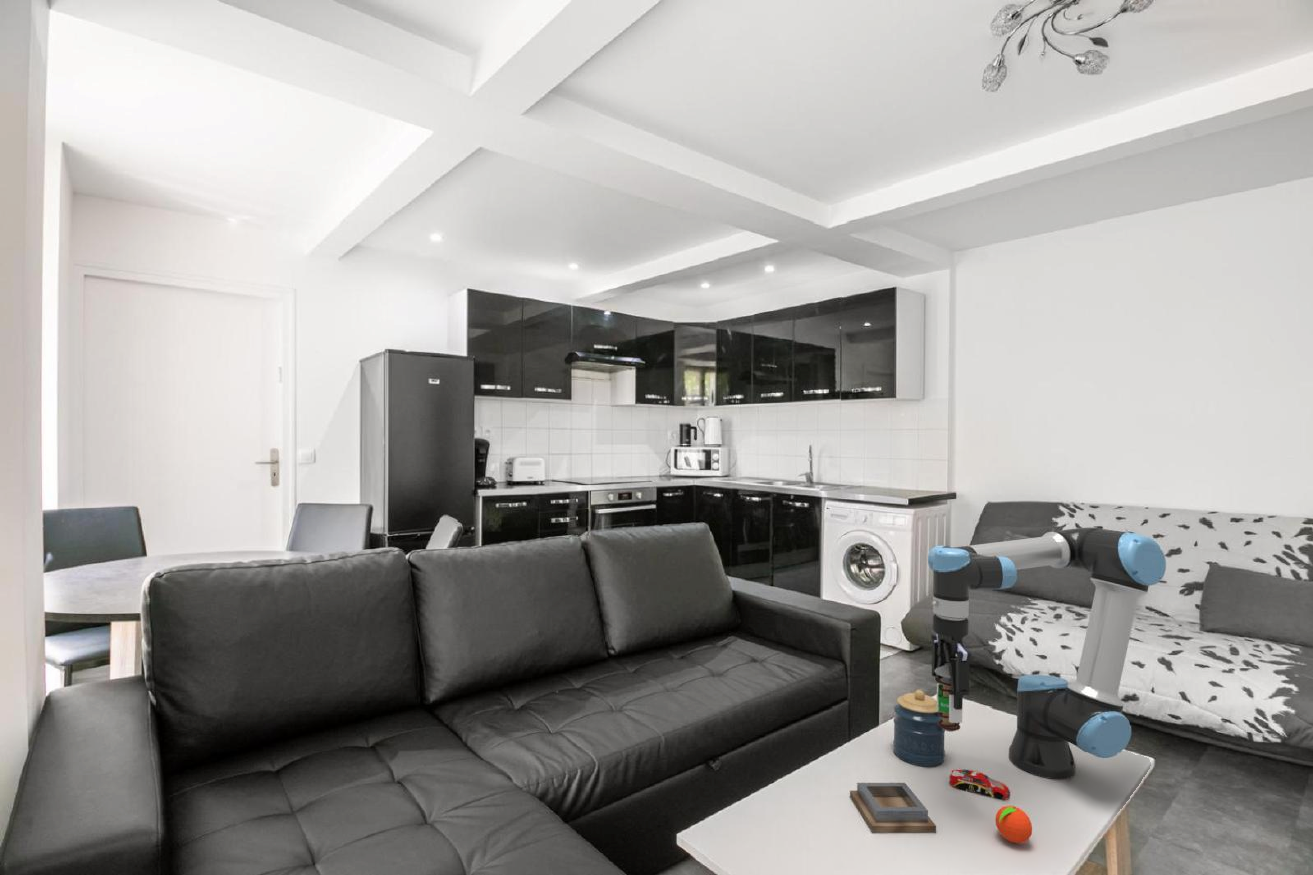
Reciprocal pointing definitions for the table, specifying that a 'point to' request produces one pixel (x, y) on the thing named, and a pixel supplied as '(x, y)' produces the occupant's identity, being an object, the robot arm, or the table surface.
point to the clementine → (1013, 824)
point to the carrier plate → (896, 826)
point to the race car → (978, 784)
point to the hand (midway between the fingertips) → (949, 716)
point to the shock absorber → (945, 698)
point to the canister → (918, 730)
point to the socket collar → (892, 814)
